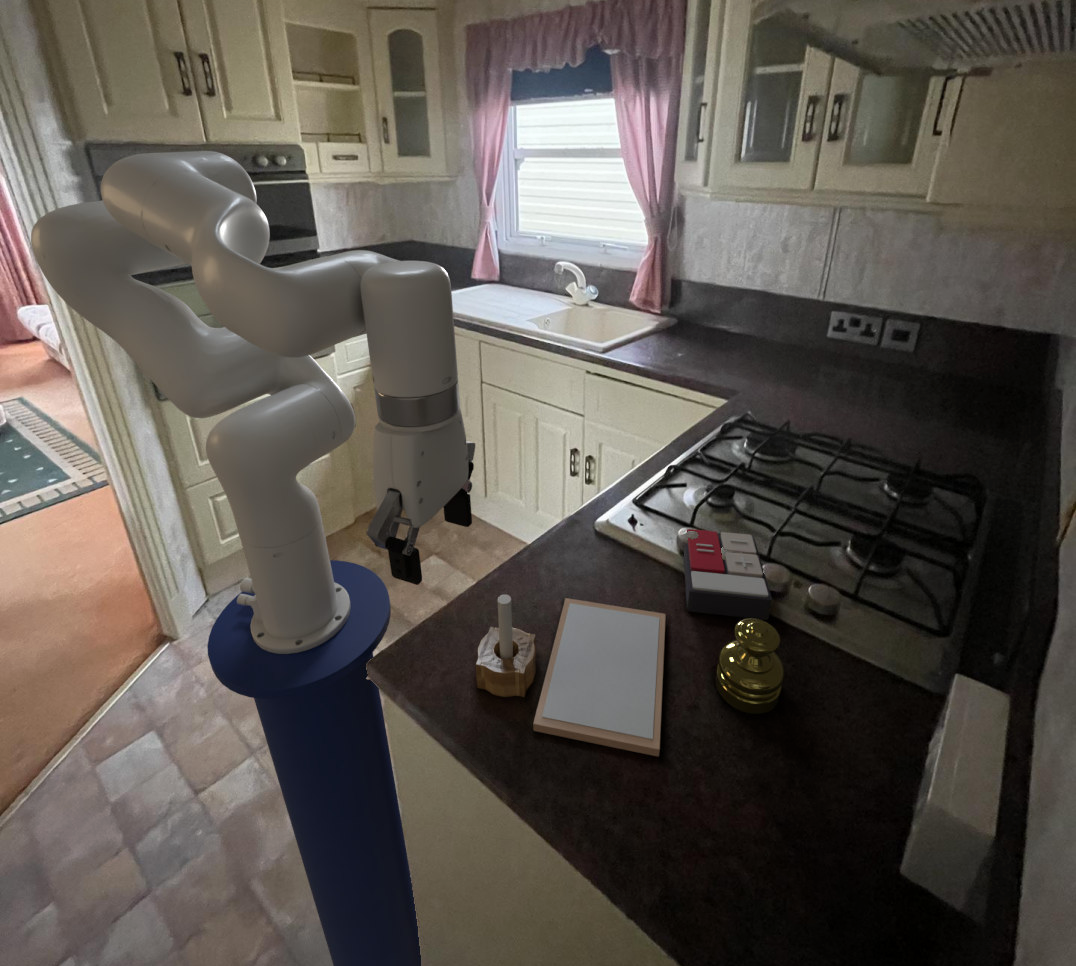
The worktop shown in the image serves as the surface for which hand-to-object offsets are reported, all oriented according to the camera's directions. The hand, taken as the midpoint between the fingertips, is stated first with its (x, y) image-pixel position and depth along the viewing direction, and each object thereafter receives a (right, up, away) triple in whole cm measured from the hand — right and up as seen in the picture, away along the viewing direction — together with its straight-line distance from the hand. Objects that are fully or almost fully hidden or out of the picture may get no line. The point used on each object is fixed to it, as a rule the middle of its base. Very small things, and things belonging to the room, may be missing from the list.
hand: (434, 549), depth 62 cm
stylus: (+7, -19, +13) cm, 24 cm away
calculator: (+38, -12, +28) cm, 49 cm away
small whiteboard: (+19, -19, +13) cm, 30 cm away
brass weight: (+36, -20, +10) cm, 42 cm away
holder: (+7, -19, +13) cm, 24 cm away
